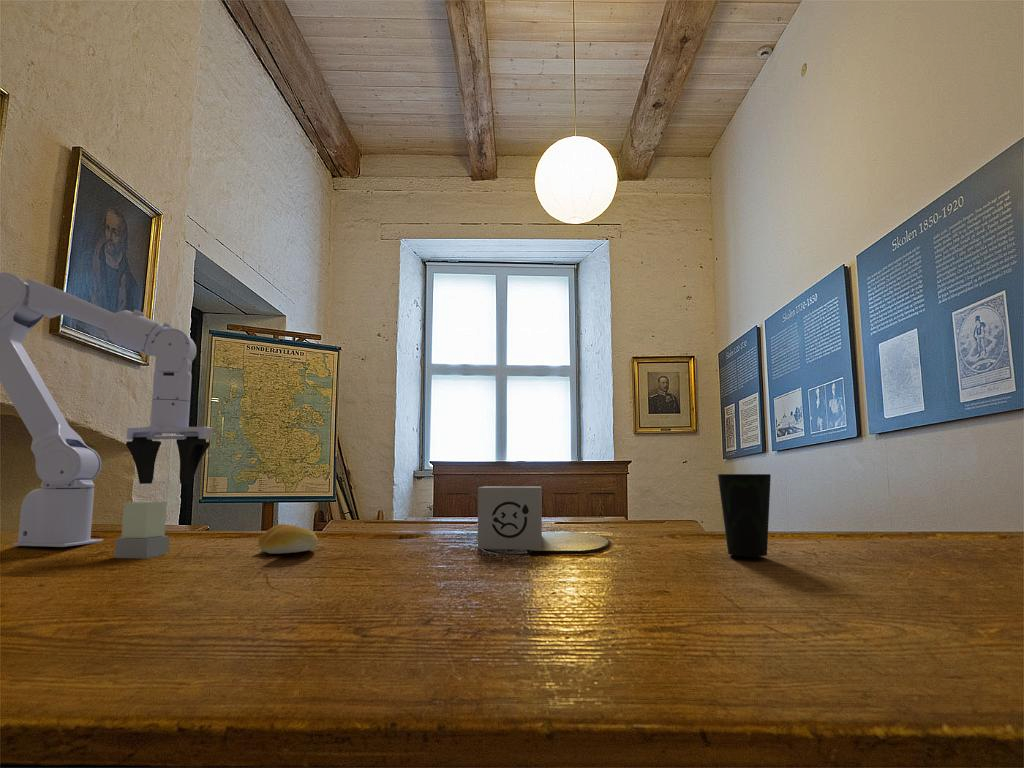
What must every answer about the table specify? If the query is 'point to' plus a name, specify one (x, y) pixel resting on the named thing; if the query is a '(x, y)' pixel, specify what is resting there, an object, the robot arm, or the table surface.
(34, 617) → the table surface
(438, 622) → the table surface
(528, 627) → the table surface
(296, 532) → the bread roll
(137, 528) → the sage block
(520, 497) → the icon cube
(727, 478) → the cup
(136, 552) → the grey block
